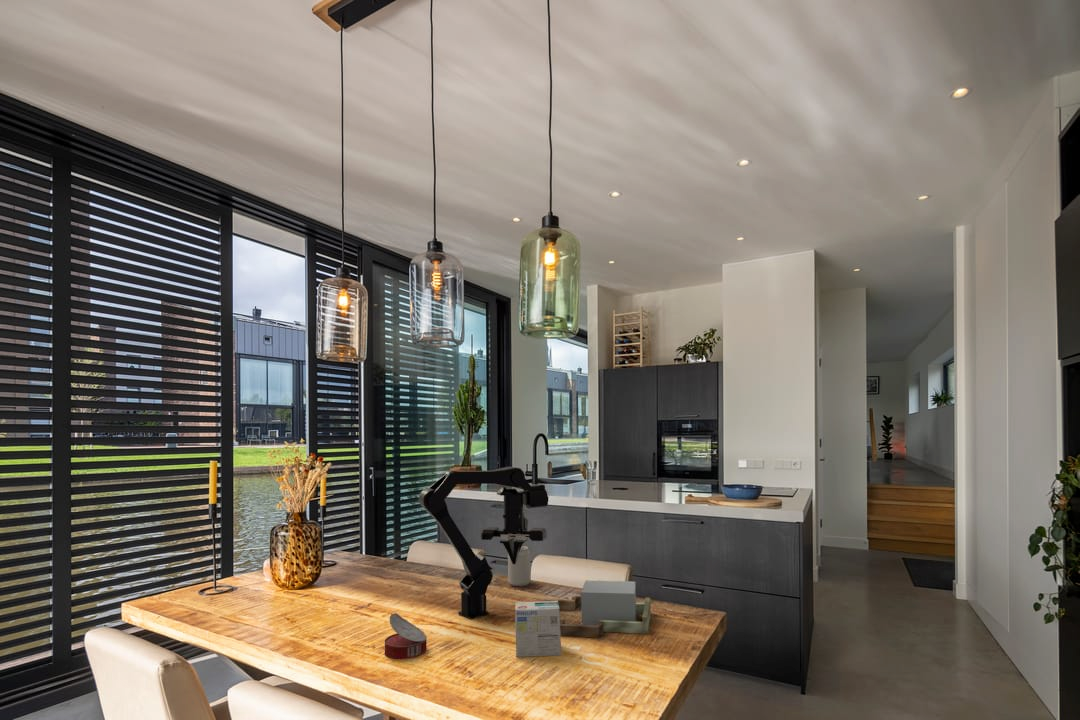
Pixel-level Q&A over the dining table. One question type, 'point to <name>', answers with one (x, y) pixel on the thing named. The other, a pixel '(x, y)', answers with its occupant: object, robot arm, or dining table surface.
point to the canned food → (404, 640)
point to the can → (520, 568)
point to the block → (608, 601)
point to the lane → (603, 621)
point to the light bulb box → (537, 629)
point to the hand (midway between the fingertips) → (514, 563)
